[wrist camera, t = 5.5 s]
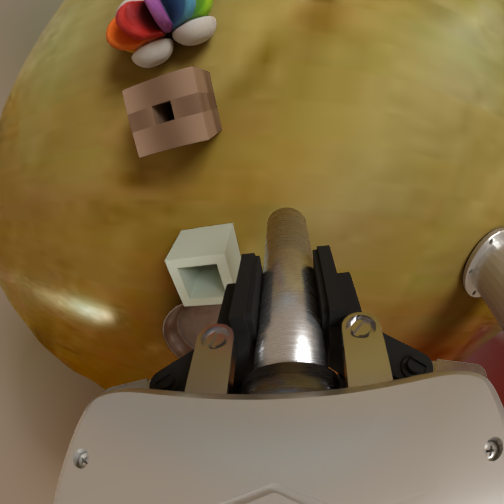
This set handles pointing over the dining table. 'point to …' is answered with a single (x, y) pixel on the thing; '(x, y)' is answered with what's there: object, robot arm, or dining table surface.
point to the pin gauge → (289, 315)
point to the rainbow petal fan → (159, 28)
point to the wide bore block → (204, 263)
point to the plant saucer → (187, 326)
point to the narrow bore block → (172, 110)
